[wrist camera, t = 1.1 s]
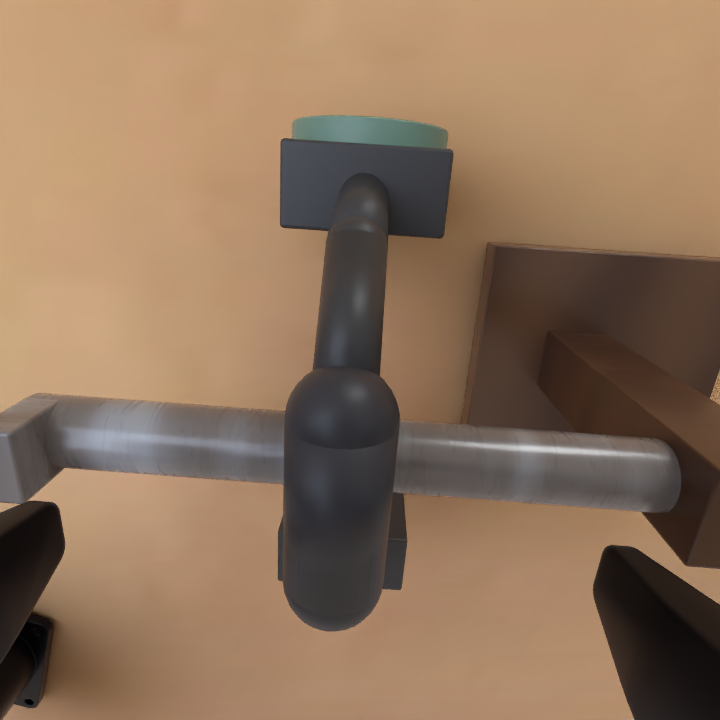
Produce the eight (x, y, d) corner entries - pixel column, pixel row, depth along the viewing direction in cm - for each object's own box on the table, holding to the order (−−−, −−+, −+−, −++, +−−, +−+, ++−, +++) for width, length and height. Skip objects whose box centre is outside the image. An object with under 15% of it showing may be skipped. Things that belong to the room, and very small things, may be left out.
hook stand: (732, 258, 17) (1202, 346, 7) (670, 448, 20) (956, 700, 10) (179, 220, 18) (-76, 256, 8) (191, 413, 20) (13, 624, 10)
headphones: (437, 141, 15) (541, 53, 5) (397, 511, 20) (415, 813, 10) (306, 133, 15) (180, 30, 6) (297, 504, 20) (221, 796, 10)
